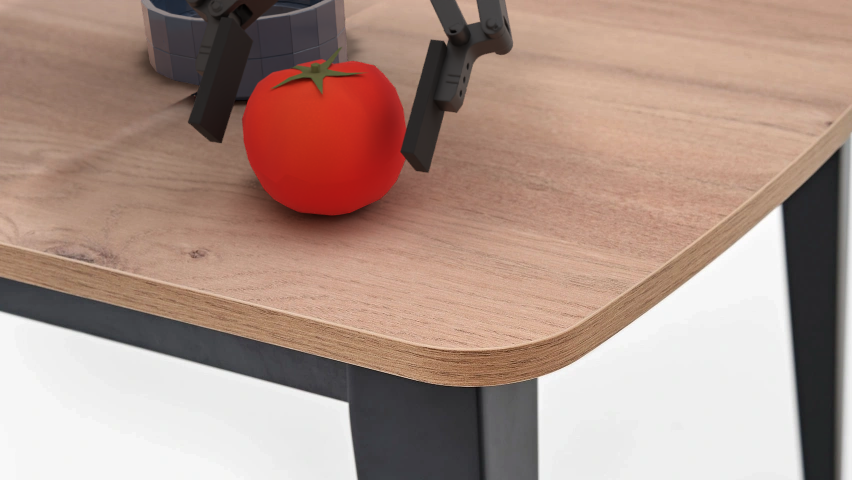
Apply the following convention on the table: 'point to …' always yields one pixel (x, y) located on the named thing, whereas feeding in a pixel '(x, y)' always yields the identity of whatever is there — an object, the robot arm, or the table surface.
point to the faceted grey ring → (271, 33)
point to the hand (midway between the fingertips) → (306, 148)
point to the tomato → (325, 135)
